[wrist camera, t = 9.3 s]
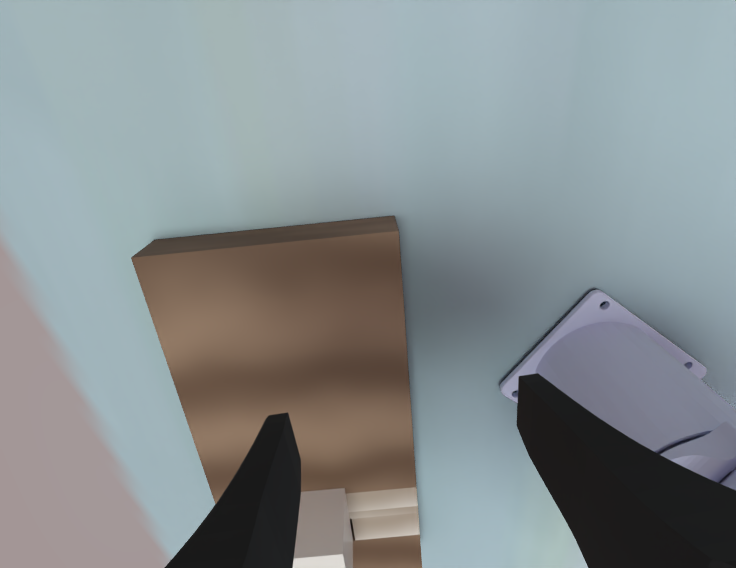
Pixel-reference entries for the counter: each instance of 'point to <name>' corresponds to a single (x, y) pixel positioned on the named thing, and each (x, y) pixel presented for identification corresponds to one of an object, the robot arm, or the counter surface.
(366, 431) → the socket board
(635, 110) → the counter surface
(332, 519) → the plug
